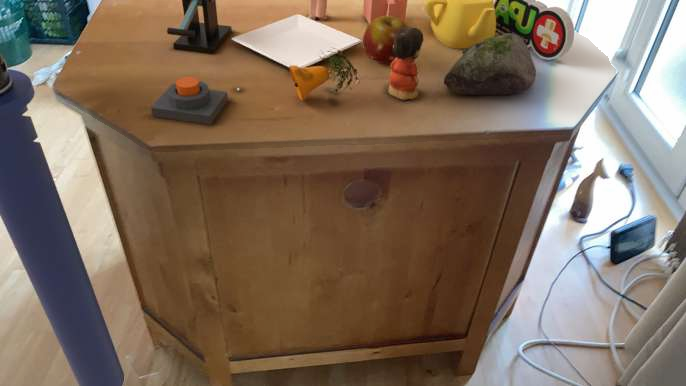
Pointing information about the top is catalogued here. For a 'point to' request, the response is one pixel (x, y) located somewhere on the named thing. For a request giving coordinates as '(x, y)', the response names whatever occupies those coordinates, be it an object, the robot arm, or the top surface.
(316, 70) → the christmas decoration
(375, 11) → the pink blocky piece
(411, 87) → the figurine
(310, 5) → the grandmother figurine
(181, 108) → the control block
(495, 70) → the stone
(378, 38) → the fruit
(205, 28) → the switch bracket
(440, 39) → the teapot
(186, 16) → the switch lever
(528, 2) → the sign
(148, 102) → the top surface
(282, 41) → the plate
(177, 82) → the button
